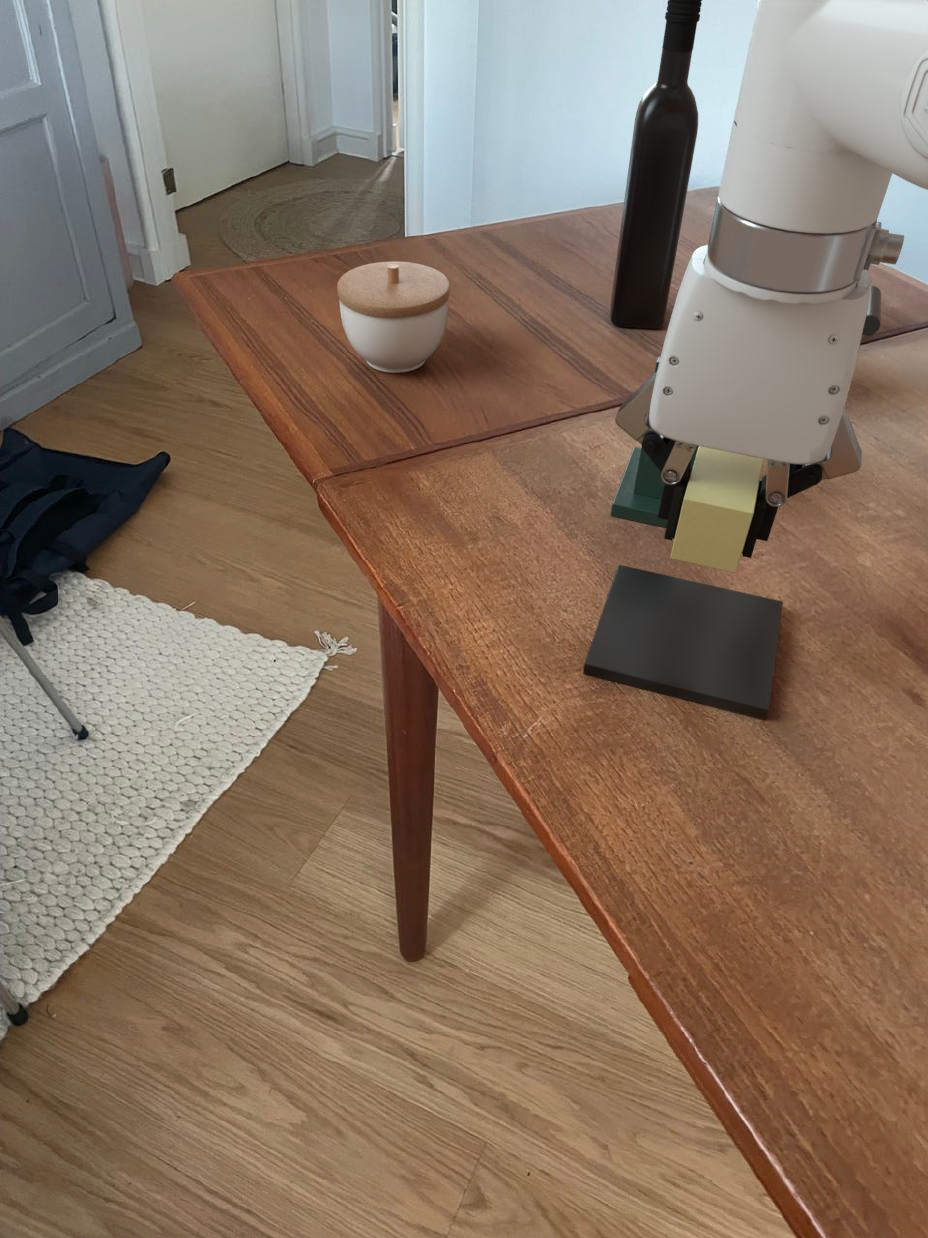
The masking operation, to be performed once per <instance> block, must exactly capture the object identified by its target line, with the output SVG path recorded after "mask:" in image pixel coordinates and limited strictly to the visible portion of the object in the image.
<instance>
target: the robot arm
mask: <svg viewBox="0 0 928 1238" xmlns="http://www.w3.org/2000/svg"><path fill="white" fill-rule="evenodd" d="M755 9H756V10H755V14H754V20H753V24H752V28H751V29H752V30H751V35H750V38H749V43H748V49H747V53H746V58H745V63H744V68H743V73H742V77H741V83H740V87H739V92H738V96H737V102H736V107H735V112H734V115H733V116H734V117H733V122H732V126H731V131H730V136H729V141H728V146H727V151H726V156H725V160H724V166H723V171H722V176H721V181H720V184H719V190H718V196H717V198H716V199H717V200H716V202H715V203H716V204H715V207H714V208H715V209H714V213H713V218H712V223H711V228H710V233H709V238H708V243H707V244H705V245H701V246H699V247H697V248H696V249H695V250H694V251H693V253H692V255H691V258H690V260H689V262H688V265H687V266H686V269H685V271H684V275H683V278H682V280H681V284H680V286H679V288H678V291H677V295H676V298H675V302H674V305H673V308H672V312H671V315H670V319H669V323H668V327H667V331H666V335H665V337H664V342H663V346H662V348H661V349H662V350H661V354H660V357H661V358H660V362H659V366H658V370H657V372H656V373H655V372H654V373H653V374H652V375H651V376H650V377H649V378H648V379H647V380H646V381H644V383H643V384H642V385H640V387H638V389H636V390H635V391H634V393H632V394H631V395H630V396H629V397H628V398H626V400H625V401H624V402H622V404H621V405H620V406H619V408H618V411H617V413H616V415H615V417H614V420H615V424H616V425H617V426H618V427H619V428H620V429H621V430H622V431H624V432H625V433H626V434H627V435H628V436H630V437H631V438H632V440H634V441H635V442H638V443H639V444H641V447H642V448H643V450H644V451H645V452H646V454H647V455H648V456H649V457H650V459H651V460H652V461H653V463H654V464H655V465H656V466H657V468H658V469H659V470H660V471H661V479H662V481H663V482H664V483H665V484H664V489H663V494H662V499H661V503H660V508H659V513H658V518H662V519H666V520H668V523H667V527H665V533H664V536H663V539H664V540H668V541H673V540H674V539H675V534H676V530H677V526H678V521H679V517H680V513H681V508H682V504H683V500H684V496H685V493H686V489H687V486H688V482H689V479H690V475H691V472H692V468H693V467H691V463H692V462H691V460H690V459H691V457H692V455H693V453H694V451H695V449H696V447H697V446H702V447H706V448H711V449H716V450H721V451H726V452H731V453H736V454H741V455H746V456H752V457H757V458H762V459H764V460H767V461H766V462H767V463H766V474H764V475H763V476H762V479H761V480H760V482H759V488H758V493H757V498H756V504H755V509H754V514H753V517H752V521H751V524H750V528H749V531H748V534H747V538H746V541H745V544H744V548H743V551H742V554H741V557H744V558H747V559H751V558H752V555H753V552H754V549H755V546H756V543H757V540H758V541H763V542H768V541H769V537H770V535H771V532H772V528H773V525H774V522H775V519H776V515H777V513H778V510H779V507H782V506H784V505H785V504H786V503H787V501H788V499H790V498H791V497H794V496H796V495H798V494H800V493H802V492H804V491H807V490H808V489H810V488H813V487H815V486H817V485H819V484H820V482H821V481H824V480H828V481H830V480H832V479H836V478H839V477H843V476H846V475H850V474H853V473H856V472H859V470H860V469H861V468H862V462H863V461H862V460H863V452H862V448H861V446H860V444H859V443H860V442H859V441H858V438H857V435H856V433H855V430H854V428H853V425H852V422H851V419H850V417H849V415H848V412H847V409H846V402H847V399H848V396H849V392H850V388H851V384H852V381H853V377H854V374H855V370H856V366H857V363H858V362H857V361H858V358H859V352H860V349H861V344H862V338H863V335H862V333H863V328H864V324H865V320H866V316H867V312H868V306H869V298H870V289H871V286H872V277H871V275H870V274H869V273H868V272H867V271H869V269H870V266H871V265H877V266H879V265H880V263H882V264H889V265H896V264H897V263H898V260H899V258H900V255H901V253H902V249H903V245H904V241H905V235H904V234H897V233H891V232H890V230H889V229H885V228H882V222H881V221H878V219H879V215H880V212H881V209H882V206H883V203H884V199H885V197H886V194H887V191H888V189H889V185H890V182H891V179H892V177H893V175H895V176H897V177H899V178H900V179H902V180H903V181H905V182H907V183H910V184H912V185H915V186H917V187H919V188H922V189H924V190H927V191H928V0H757V5H756V8H755Z"/></svg>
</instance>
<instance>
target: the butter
mask: <svg viewBox="0 0 928 1238" xmlns="http://www.w3.org/2000/svg"><path fill="white" fill-rule="evenodd" d="M764 460H765V459H762V458H757V457H752V456H746V455H741V454H736V453H731V452H726V451H721V450H716V449H711V448H706V447H702V446H699V447H698V450H697V454H696V457H695V461H694V465H693V468H692V472H691V475H690V479H689V482H688V486H687V489H686V493H685V496H684V500H683V504H682V508H681V513H680V517H679V521H678V526H677V530H676V534H675V539H673V543H672V548H671V552H670V559H672V560H677V561H681V562H684V563H685V562H686V563H690V564H694V565H699V566H703V567H707V568H712V569H716V570H721V571H725V572H729V573H734V574H736V573H737V570H738V567H739V564H740V561H741V557H742V555H743V554H742V551H743V548H744V544H745V541H746V538H747V534H748V531H749V528H750V524H751V521H752V517H753V514H754V509H755V504H756V498H757V493H758V488H759V482H760V481H761V476H762V470H763V465H764Z"/></svg>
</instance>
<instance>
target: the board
mask: <svg viewBox="0 0 928 1238" xmlns="http://www.w3.org/2000/svg"><path fill="white" fill-rule="evenodd" d="M783 606H784V601H782V600H778V599H773V598H768V597H765V596H760V595H755V594H751V593H748V592H747V593H746V592H742V591H737V590H735V589H734V590H733V589H729V588H725V587H721V586H717V585H716V586H715V585H711V584H707V583H703V582H698V581H694V580H689V579H684V578H681V577H675V576H671V575H667V574H662V573H657V572H654V571H649V570H645V569H641V568H635V567H631V566H626V565H624V564H618V565H617V567H616V571H615V573H614V576H613V579H612V583H611V585H610V588H609V591H608V593H607V598H606V599H605V603H604V605H603V608H602V611H601V614H600V617H599V619H598V623H597V626H596V628H595V632H594V634H593V637H592V641H591V642H590V643H591V644H590V647H589V649H588V652H587V655H586V658H585V660H584V663H583V671H582V673H583V675H586V676H590V677H595V678H598V679H603V680H607V681H609V682H613V683H618V684H622V685H626V686H629V687H632V688H633V687H635V688H637V689H641V690H645V691H650V692H654V693H657V694H661V695H665V696H669V697H674V698H678V699H680V700H685V701H689V702H693V703H696V704H701V705H705V706H708V707H713V708H717V709H721V710H725V711H729V712H733V713H736V714H740V715H744V716H748V717H752V718H756V719H760V720H765V721H766V719H767V717H768V714H769V711H770V704H771V698H772V689H773V682H774V675H775V666H776V659H777V652H778V645H779V638H780V637H779V636H780V629H781V622H782V614H783Z"/></svg>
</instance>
